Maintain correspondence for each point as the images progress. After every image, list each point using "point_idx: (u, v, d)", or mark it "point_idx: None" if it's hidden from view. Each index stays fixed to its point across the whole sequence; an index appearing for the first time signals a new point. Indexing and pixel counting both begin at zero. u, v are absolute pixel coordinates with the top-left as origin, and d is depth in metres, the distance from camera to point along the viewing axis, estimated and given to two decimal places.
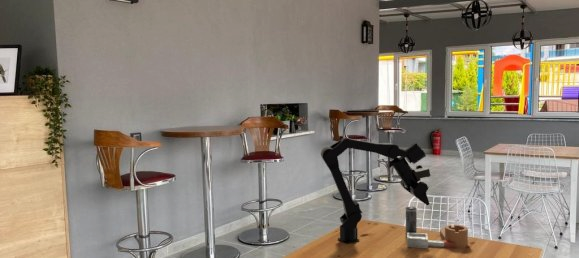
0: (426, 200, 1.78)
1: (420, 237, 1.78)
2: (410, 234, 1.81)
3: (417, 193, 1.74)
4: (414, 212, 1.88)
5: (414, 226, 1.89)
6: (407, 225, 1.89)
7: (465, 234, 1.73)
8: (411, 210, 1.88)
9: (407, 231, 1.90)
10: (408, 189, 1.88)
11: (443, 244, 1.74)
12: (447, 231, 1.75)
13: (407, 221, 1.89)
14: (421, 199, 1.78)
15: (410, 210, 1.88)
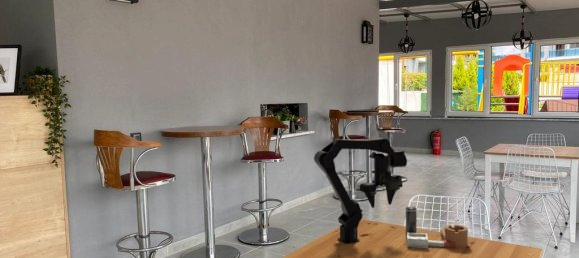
0: (371, 202, 1.83)
1: (420, 237, 1.78)
2: (410, 234, 1.81)
3: (360, 188, 1.83)
4: (414, 212, 1.88)
5: (414, 226, 1.89)
6: (407, 225, 1.89)
7: (465, 234, 1.73)
8: (411, 210, 1.88)
9: (407, 231, 1.90)
10: (387, 188, 1.90)
11: (443, 244, 1.74)
12: (447, 231, 1.75)
13: (407, 221, 1.89)
14: (368, 198, 1.84)
15: (410, 210, 1.88)
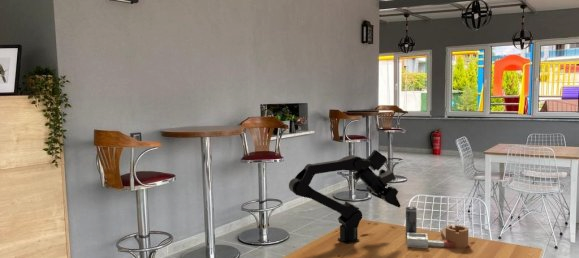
0: (397, 203, 1.82)
1: (420, 237, 1.78)
2: (410, 234, 1.81)
3: (389, 199, 1.77)
4: (414, 212, 1.88)
5: (414, 226, 1.89)
6: (407, 225, 1.89)
7: (465, 235, 1.73)
8: (411, 210, 1.88)
9: (407, 231, 1.90)
10: (376, 194, 1.91)
11: (443, 244, 1.74)
12: (447, 231, 1.75)
13: (407, 221, 1.89)
14: (393, 203, 1.81)
15: (410, 210, 1.88)
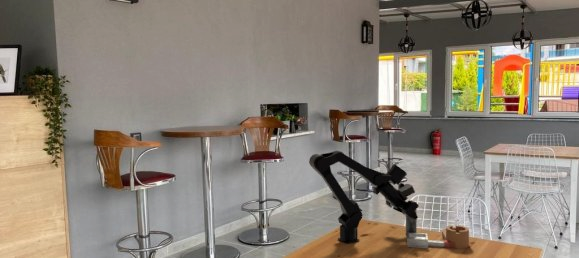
0: (414, 215, 1.87)
1: (420, 237, 1.78)
2: (410, 234, 1.81)
3: (410, 213, 1.80)
4: None
5: (414, 226, 1.89)
6: (407, 225, 1.89)
7: (466, 235, 1.72)
8: None
9: (407, 231, 1.90)
10: (398, 209, 1.92)
11: (443, 244, 1.74)
12: (448, 232, 1.75)
13: (407, 221, 1.89)
14: (410, 215, 1.86)
15: None
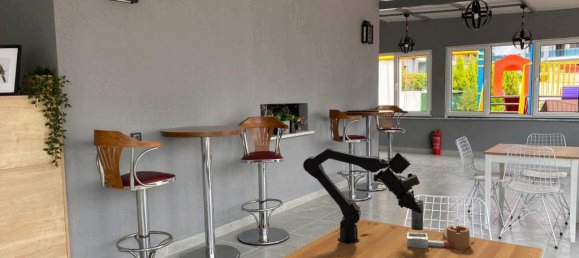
0: (417, 208, 1.73)
1: (420, 237, 1.78)
2: (410, 234, 1.81)
3: (402, 204, 1.68)
4: (418, 205, 1.74)
5: (418, 220, 1.75)
6: (411, 218, 1.77)
7: (466, 235, 1.72)
8: None
9: (411, 225, 1.77)
10: None
11: (443, 244, 1.74)
12: (448, 232, 1.74)
13: (411, 214, 1.76)
14: (411, 208, 1.73)
15: None
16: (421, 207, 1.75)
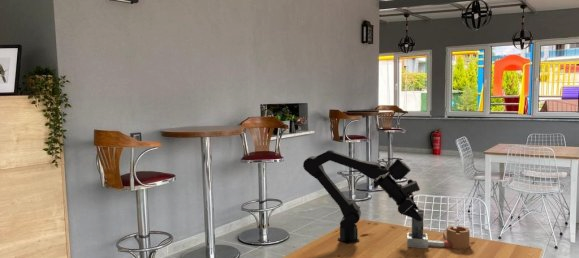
0: (417, 216, 1.71)
1: None
2: (410, 234, 1.81)
3: (402, 211, 1.68)
4: None
5: (418, 230, 1.75)
6: (412, 228, 1.77)
7: (466, 236, 1.72)
8: None
9: (411, 234, 1.77)
10: None
11: (443, 244, 1.74)
12: (448, 232, 1.74)
13: (412, 223, 1.77)
14: (411, 216, 1.71)
15: None
16: (421, 217, 1.75)
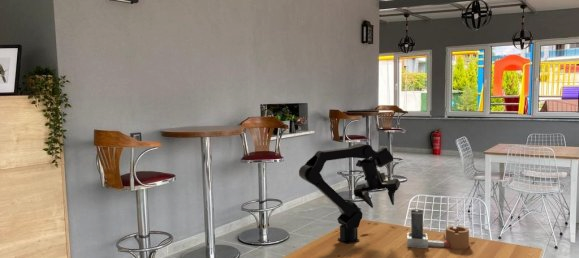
0: (393, 199, 1.85)
1: None
2: (410, 234, 1.81)
3: (397, 187, 1.80)
4: (418, 215, 1.74)
5: (418, 230, 1.75)
6: (411, 228, 1.77)
7: (465, 236, 1.71)
8: (414, 212, 1.75)
9: (411, 235, 1.77)
10: (365, 196, 1.88)
11: (443, 244, 1.74)
12: (447, 232, 1.74)
13: (411, 224, 1.77)
14: (392, 197, 1.83)
15: (413, 212, 1.75)
16: (421, 217, 1.75)
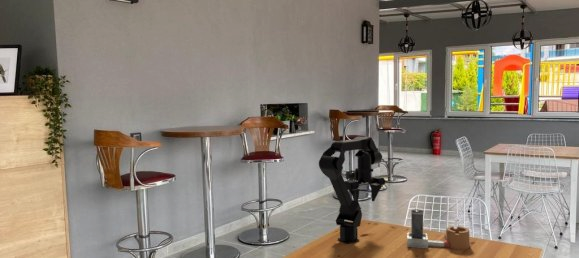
0: None
1: None
2: (410, 234, 1.81)
3: None
4: (418, 215, 1.74)
5: (418, 230, 1.75)
6: (411, 228, 1.77)
7: (466, 236, 1.71)
8: (414, 213, 1.75)
9: (411, 235, 1.77)
10: None
11: (443, 244, 1.74)
12: (448, 232, 1.74)
13: (411, 224, 1.77)
14: None
15: (413, 212, 1.75)
16: (421, 217, 1.75)
